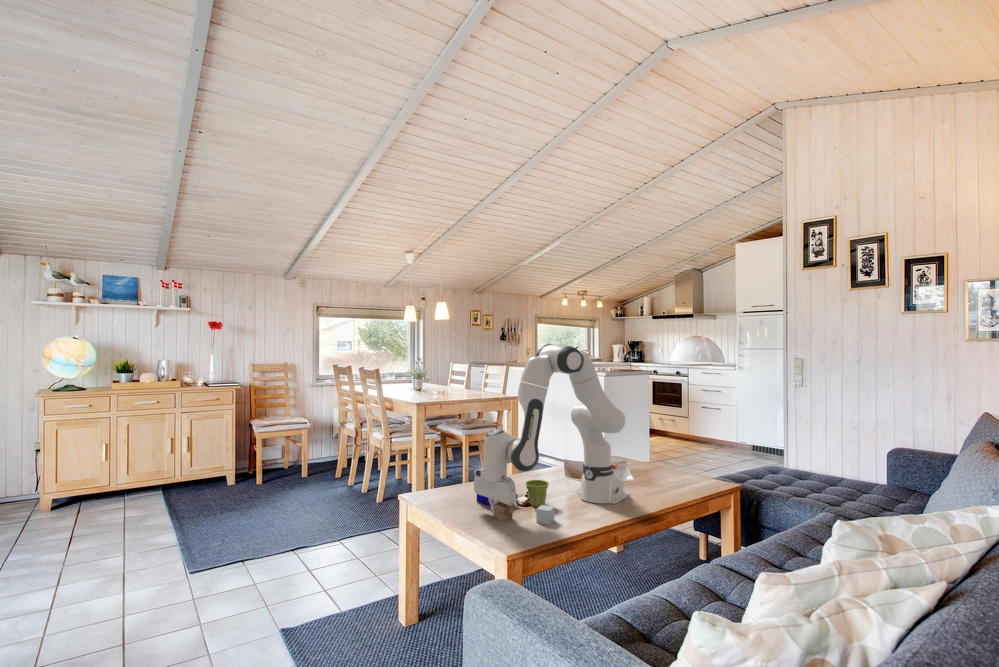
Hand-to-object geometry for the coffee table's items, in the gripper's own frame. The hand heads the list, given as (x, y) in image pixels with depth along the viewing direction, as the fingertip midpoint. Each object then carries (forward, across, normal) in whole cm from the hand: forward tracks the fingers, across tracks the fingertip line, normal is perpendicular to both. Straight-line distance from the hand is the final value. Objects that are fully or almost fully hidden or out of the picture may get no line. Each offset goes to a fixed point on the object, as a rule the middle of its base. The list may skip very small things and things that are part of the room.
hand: (494, 510), depth 196 cm
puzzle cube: (+2, +12, -11) cm, 17 cm away
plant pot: (+2, -2, -21) cm, 21 cm away
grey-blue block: (+2, -18, -9) cm, 20 cm away
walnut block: (+2, -5, 0) cm, 5 cm away
